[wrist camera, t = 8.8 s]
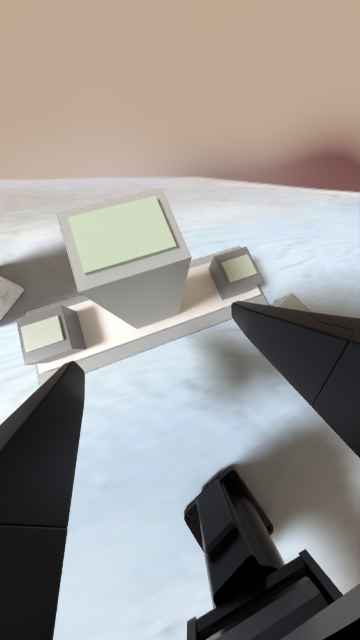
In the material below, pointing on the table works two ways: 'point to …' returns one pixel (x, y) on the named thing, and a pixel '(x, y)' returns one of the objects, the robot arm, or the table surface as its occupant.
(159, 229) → the panel
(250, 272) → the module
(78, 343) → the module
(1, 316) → the syrup box
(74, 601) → the table surface
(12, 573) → the robot arm
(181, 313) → the rail
